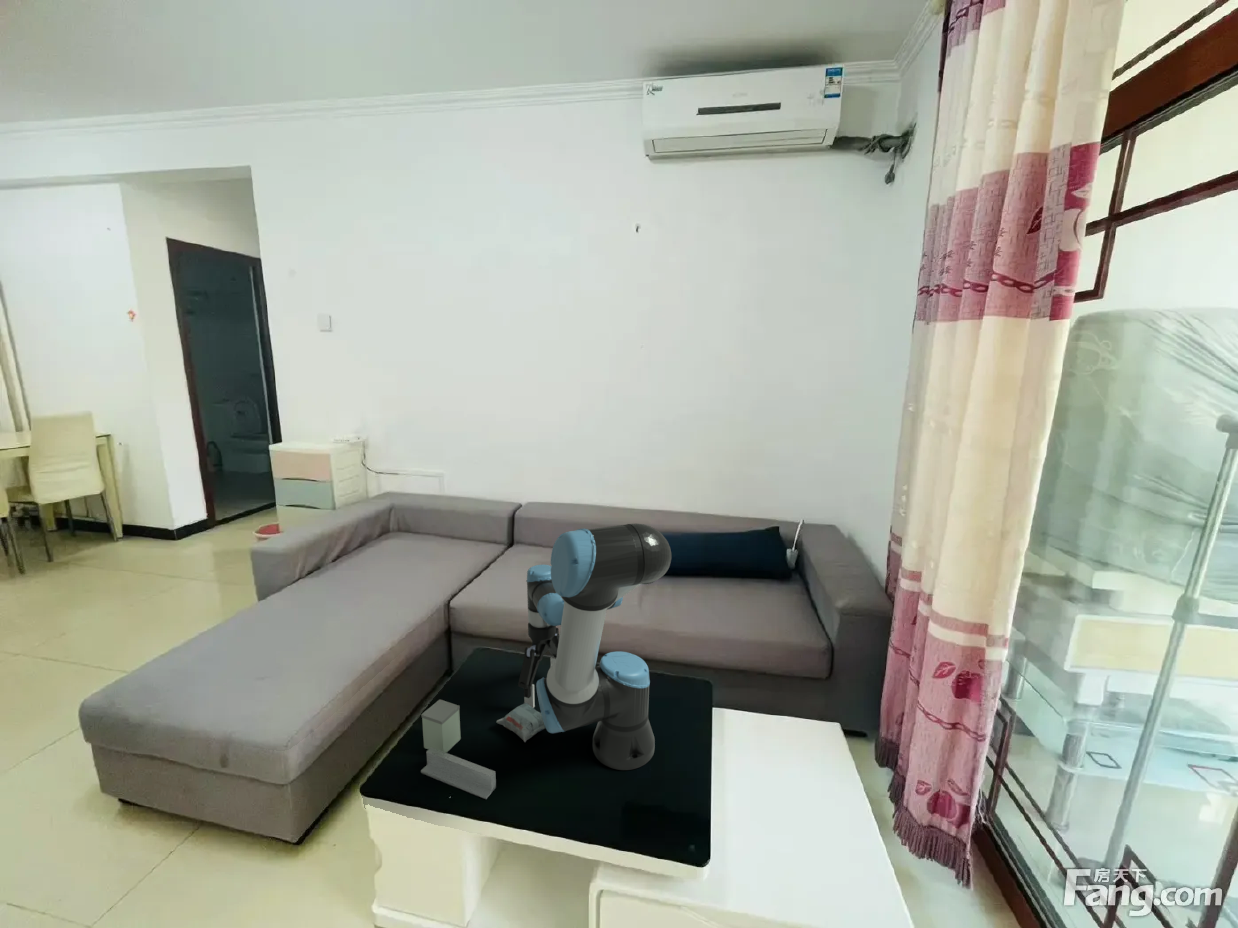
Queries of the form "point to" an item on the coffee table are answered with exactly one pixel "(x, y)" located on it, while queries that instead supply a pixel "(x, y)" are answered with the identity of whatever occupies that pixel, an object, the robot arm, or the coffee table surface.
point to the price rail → (460, 773)
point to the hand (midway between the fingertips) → (543, 691)
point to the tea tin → (441, 726)
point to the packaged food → (523, 721)
